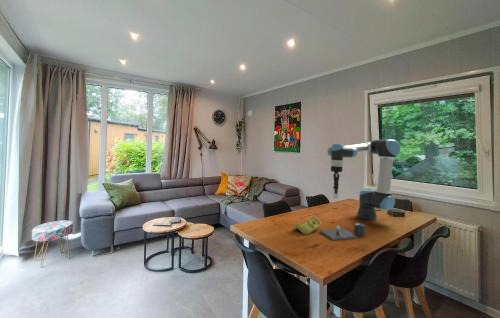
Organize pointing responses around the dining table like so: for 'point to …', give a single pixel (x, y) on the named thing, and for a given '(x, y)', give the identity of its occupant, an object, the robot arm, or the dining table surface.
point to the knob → (359, 229)
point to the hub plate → (338, 234)
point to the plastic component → (308, 226)
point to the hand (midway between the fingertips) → (335, 196)
